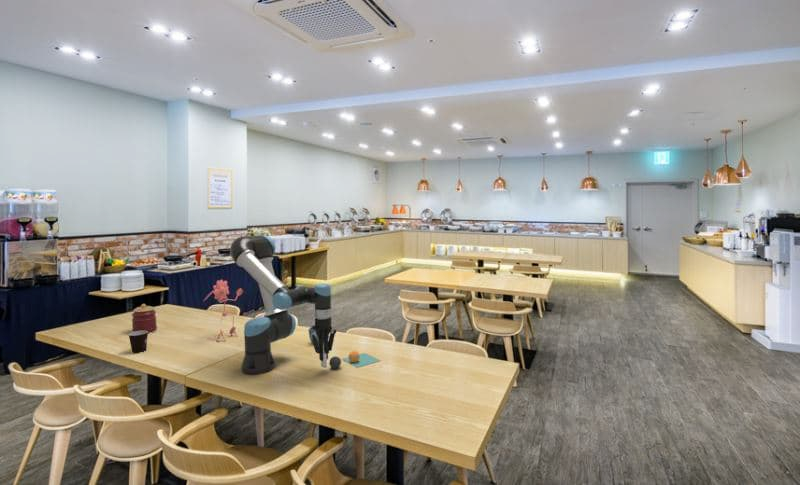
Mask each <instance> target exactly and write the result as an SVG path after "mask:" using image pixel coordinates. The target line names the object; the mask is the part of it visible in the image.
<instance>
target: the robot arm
mask: <svg viewBox="0 0 800 485" xmlns="http://www.w3.org/2000/svg"><path fill="white" fill-rule="evenodd" d="M229 252H230V257H231V259H232V260H233V262H234V263H235V264H236V265H237V266H238V267H240V268H241V267H242V268H243V269H244V271H246V272H247V273H248V274H249V275H250V276H251V277H252V278H253V279H254V280H255V282H257V283H258V287H259V291H260V295H261V298H262V300H263V305H264V306H263V307H264V310H265V313H264V315H263V316H264V317H263V316H260V317H255V318H251V319H249V320H248V321H247V322H246V323H245V324H244V328H243V329H244V330H243V335H244V356H243V360H242V363H241V366H240V368H241V370H240V371H241V372H242V373H243V374H245V375H261V374H266V373H268V372H270V371H272V370H274V369H275V368H276V361H275V358H274V355H273V352H272V343H275V342H277V341H280V340H284V339H286V338H288V337H290V336H291V335H292V336H293V334H294V332H295V330H296V326H297V325H296V324H297V323H296V319H295V316H294V315H292V314H291V313H290V312H288V311H289V310H288V309H289V308H293V307H297V306H300V305H304V304H313V305H314V317H315V318H314V325H315V330H314V331H315V332H314V333H312V334H310V336H311V338H312V341H313V343H312V344H313V348H314V351H315V353H316V354H318V357H319V361H320V366H321V367H322V368H323V369H325V368H327V367H328V366H327V365H328V364H327V360H329V353H330V352H331V351H332V350H333V345H334V341H335V340H334V339H335V336H336V333H337V329H334V328H333V327H332V289H331V288H332V287H331V285H330V284H329V283H317V284H315V285H314V286H313V287H311V286H310V287H309V286H307V285H306V286H305V285H298V286H296V287H295V288H294V289H289V288H288V287H287V286H286V285H285V284H284V283H283V282H282V281H281V280H280V279H279V278H278V277H277V276H276V275H275V271H274V268H273V263H272V261H273V259H274V255H275V253H276V244H275V242H274V240H273V239H272V238H271V237H270V236H268V235H261V234H259V235H258V234H257V235H249V236H243V235H242V236H238V237H237V238H236V239H234V241H232V243H231V245H230V247H229ZM316 334H317V335H318V339H319V344H318V342H317V338H316ZM323 340H324V342H323Z"/></svg>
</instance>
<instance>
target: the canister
mask: <svg viewBox="0 0 800 485" xmlns="http://www.w3.org/2000/svg"><path fill="white" fill-rule="evenodd" d="M156 313H157V311H156V310H155V307H153V306H151V305H146V303H142V304H141V305H140V306H137V307H135V308H134V309H133V310H132V313H131V317H132V318H131V322H132V323H131V325H132V326H131V327H132V329H131V330H132V332H136V331H148V334H150V333H149V332H152V333H154V332H153V331H155V330H156V331H157V330H158V326H157V316H156ZM156 331H155V332H156ZM132 332H131V333H132Z"/></svg>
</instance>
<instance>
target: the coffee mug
mask: <svg viewBox="0 0 800 485" xmlns="http://www.w3.org/2000/svg"><path fill="white" fill-rule="evenodd" d="M148 334H149V333H148V331H136V332H129V333H128V337H129V338H128V339H129V343H130V347H131V353H132V352H133V353H132V354H141V353H140V352H142V353H145V352H146V351H147V346H148V336H149V335H148ZM144 351H145V352H144Z"/></svg>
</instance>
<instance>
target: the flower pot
mask: <svg viewBox="0 0 800 485" xmlns="http://www.w3.org/2000/svg"><path fill="white" fill-rule="evenodd" d="M314 330H315V324H314V325H312V326H311V327H309V328H308V336H309V340H310V342H311V343H312V344H313V341H312V338H311V336H310V334H312V333H314V332H315V331H314ZM316 338H317V342H318V345H319V339H318V335H317V334H316ZM323 343H324V340H323Z"/></svg>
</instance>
